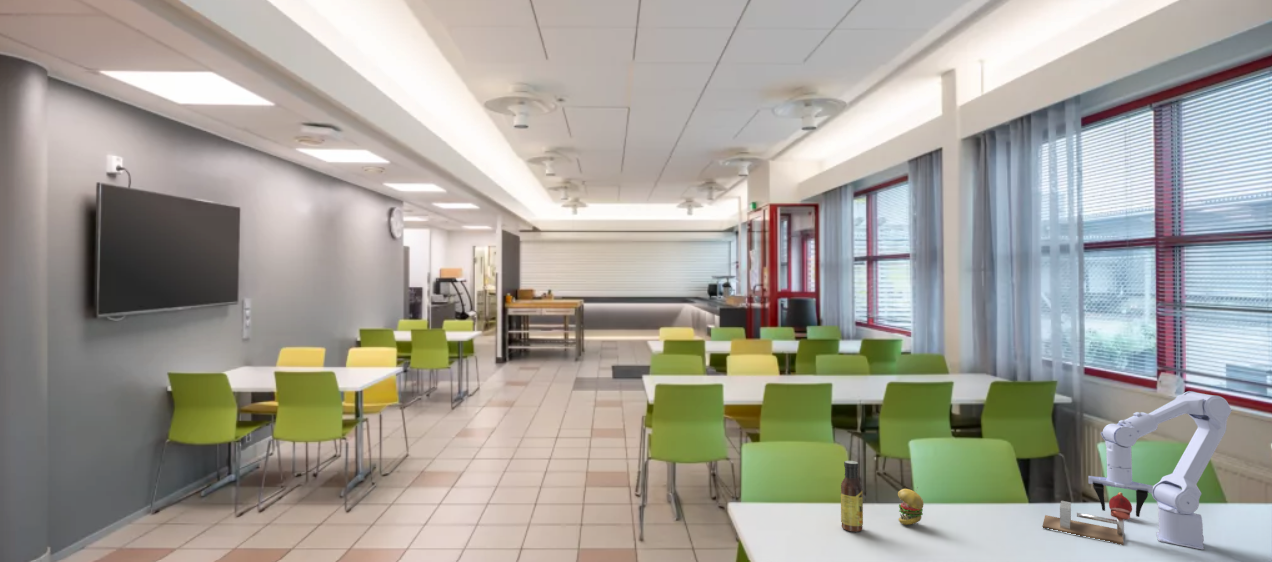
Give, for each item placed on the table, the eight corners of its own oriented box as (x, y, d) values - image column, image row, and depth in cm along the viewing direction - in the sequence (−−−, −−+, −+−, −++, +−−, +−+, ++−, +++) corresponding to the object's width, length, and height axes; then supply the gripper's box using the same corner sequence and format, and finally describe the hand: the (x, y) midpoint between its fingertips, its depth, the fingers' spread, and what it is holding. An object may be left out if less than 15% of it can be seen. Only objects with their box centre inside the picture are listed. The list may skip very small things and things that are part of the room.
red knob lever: (1130, 534, 172) (1129, 510, 172) (1130, 538, 168) (1130, 514, 168) (1077, 523, 179) (1076, 500, 180) (1076, 528, 176) (1076, 504, 176)
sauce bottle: (864, 533, 172) (864, 465, 173) (842, 531, 174) (842, 464, 174) (860, 525, 179) (860, 460, 180) (839, 523, 180) (839, 458, 181)
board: (1122, 532, 176) (1122, 529, 176) (1123, 545, 166) (1123, 542, 166) (1045, 517, 187) (1045, 515, 187) (1042, 528, 178) (1042, 526, 178)
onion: (1132, 522, 184) (1132, 496, 184) (1109, 518, 188) (1109, 493, 188) (1131, 517, 189) (1131, 492, 189) (1108, 513, 192) (1108, 488, 193)
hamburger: (900, 518, 185) (900, 480, 186) (925, 523, 181) (925, 484, 182) (895, 526, 179) (895, 486, 179) (921, 531, 175) (921, 491, 175)
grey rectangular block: (1070, 521, 182) (1070, 502, 182) (1070, 529, 175) (1069, 509, 176) (1061, 520, 183) (1061, 500, 183) (1060, 527, 177) (1059, 507, 177)
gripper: (1087, 464, 173) (1089, 510, 173) (1153, 473, 164) (1154, 522, 164) (1088, 459, 179) (1089, 504, 178) (1151, 468, 170) (1152, 515, 169)
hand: (1120, 512), depth 172 cm, fingers open, 7 cm apart
